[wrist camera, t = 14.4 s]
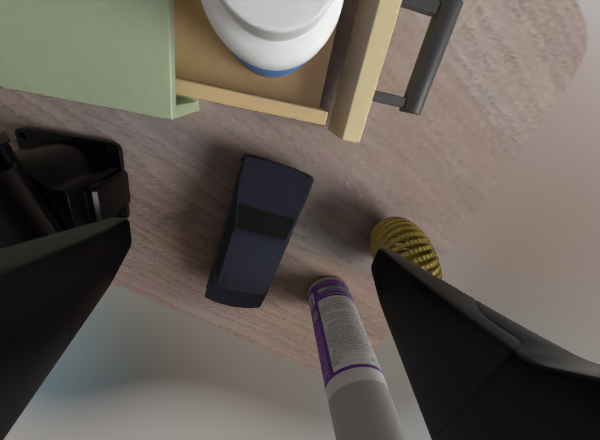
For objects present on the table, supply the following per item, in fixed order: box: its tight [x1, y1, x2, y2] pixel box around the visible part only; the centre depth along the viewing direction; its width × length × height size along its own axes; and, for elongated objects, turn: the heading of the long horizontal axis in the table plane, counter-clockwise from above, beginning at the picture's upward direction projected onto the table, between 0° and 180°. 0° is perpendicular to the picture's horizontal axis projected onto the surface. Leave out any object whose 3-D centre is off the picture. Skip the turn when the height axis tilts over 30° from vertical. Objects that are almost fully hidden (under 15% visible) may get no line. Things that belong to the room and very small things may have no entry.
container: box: [308, 276, 407, 440], centre depth 22 cm, size 5×5×15 cm
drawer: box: [174, 0, 463, 143], centre depth 14 cm, size 18×11×4 cm, turn 78°
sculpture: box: [370, 217, 442, 279], centre depth 22 cm, size 8×4×8 cm, turn 18°
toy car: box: [205, 153, 314, 308], centre depth 21 cm, size 6×15×5 cm, turn 159°
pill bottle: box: [201, 0, 344, 78], centre depth 11 cm, size 6×5×10 cm
